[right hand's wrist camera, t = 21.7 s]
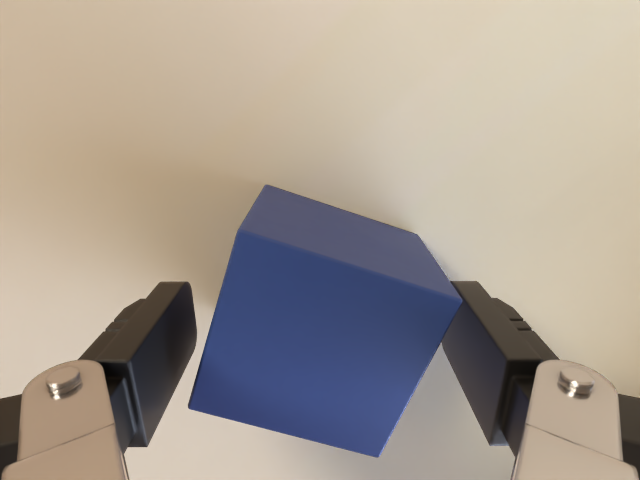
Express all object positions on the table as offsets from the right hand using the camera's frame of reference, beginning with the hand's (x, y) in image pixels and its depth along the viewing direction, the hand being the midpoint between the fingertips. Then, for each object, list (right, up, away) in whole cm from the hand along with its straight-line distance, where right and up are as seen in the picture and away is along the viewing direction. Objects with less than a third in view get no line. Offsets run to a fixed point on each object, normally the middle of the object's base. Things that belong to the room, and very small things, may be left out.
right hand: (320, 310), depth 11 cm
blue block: (0, +1, +2) cm, 2 cm away
